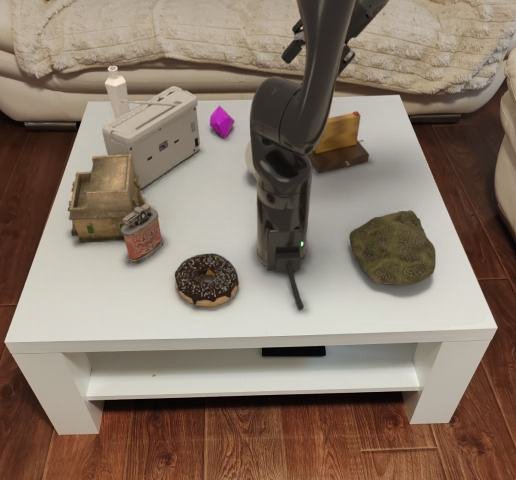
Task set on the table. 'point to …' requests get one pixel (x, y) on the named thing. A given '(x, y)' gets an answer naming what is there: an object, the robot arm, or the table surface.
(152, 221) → the lighter
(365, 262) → the decorative rock
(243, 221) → the table surface
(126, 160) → the miniature house
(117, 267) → the table surface
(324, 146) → the tan wooden flat block
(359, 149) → the panel
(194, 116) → the radio
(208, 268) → the donut
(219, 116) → the crystal
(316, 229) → the table surface
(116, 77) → the perfume bottle
